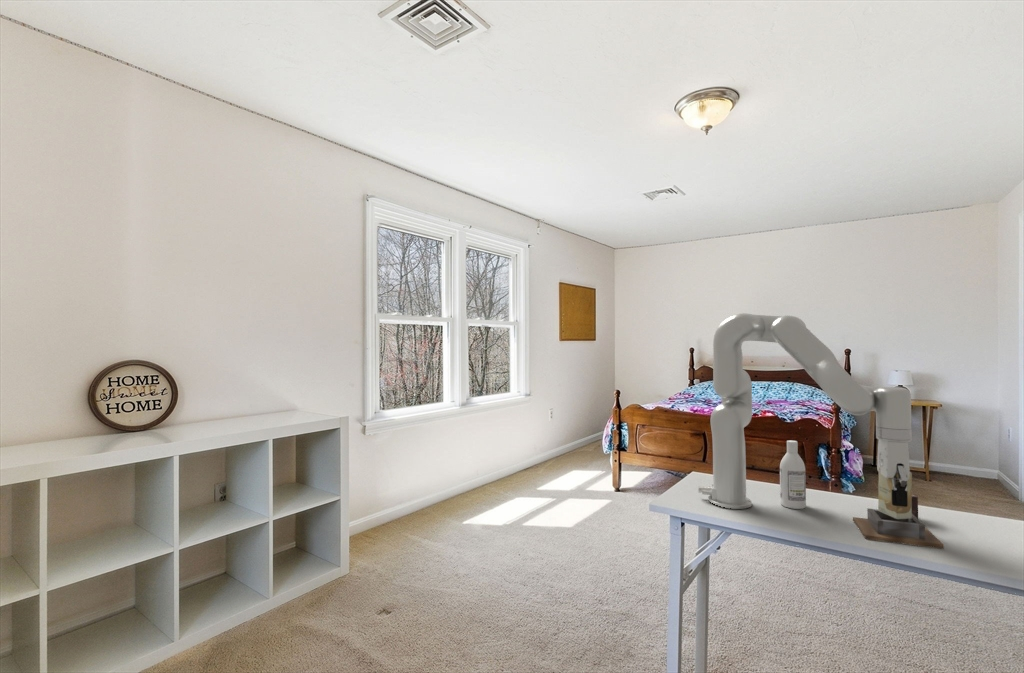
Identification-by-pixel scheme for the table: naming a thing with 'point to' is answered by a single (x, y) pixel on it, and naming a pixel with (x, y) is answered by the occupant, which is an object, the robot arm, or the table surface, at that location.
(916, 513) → the box
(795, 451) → the bath foam
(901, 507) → the skincare box
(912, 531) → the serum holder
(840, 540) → the table surface
